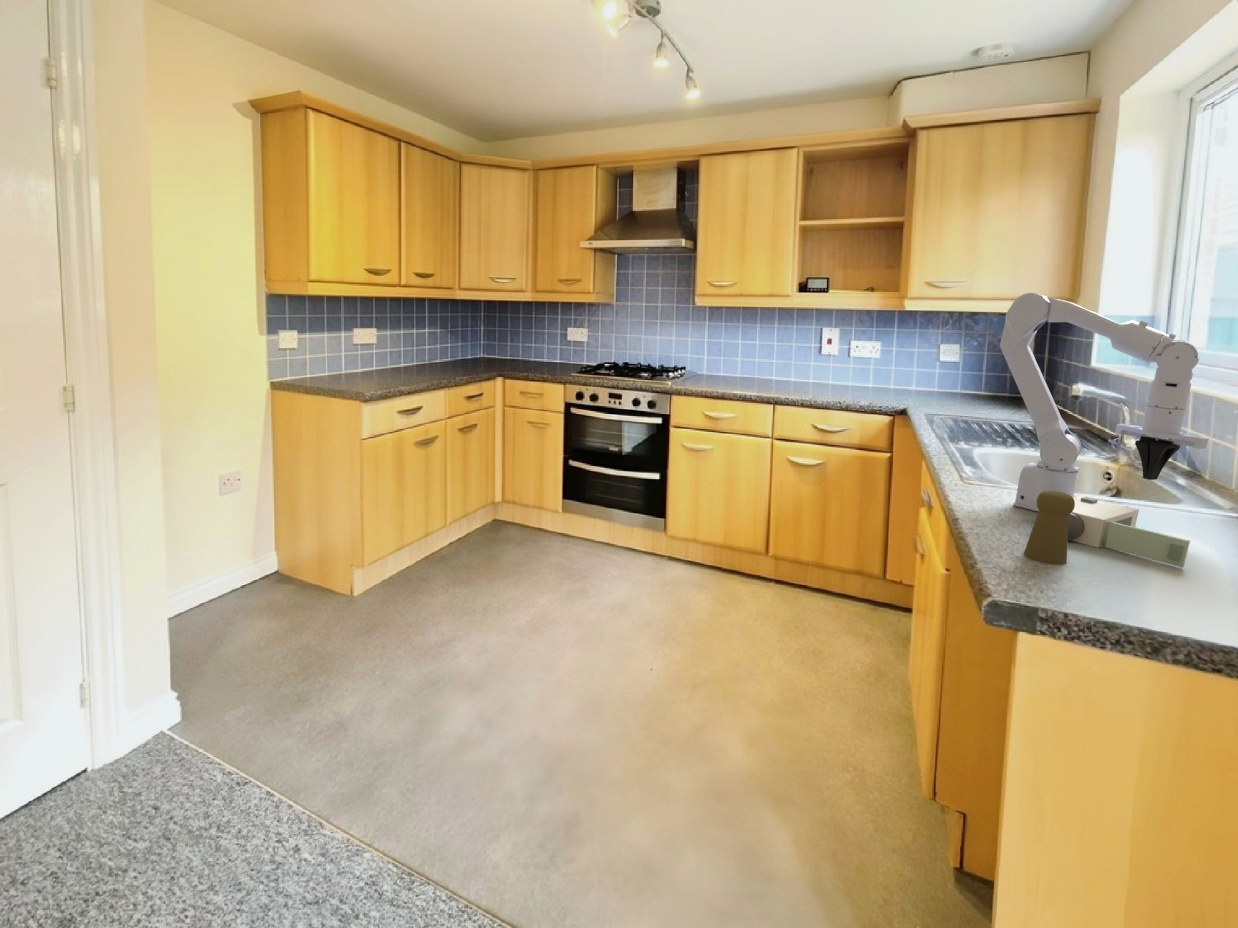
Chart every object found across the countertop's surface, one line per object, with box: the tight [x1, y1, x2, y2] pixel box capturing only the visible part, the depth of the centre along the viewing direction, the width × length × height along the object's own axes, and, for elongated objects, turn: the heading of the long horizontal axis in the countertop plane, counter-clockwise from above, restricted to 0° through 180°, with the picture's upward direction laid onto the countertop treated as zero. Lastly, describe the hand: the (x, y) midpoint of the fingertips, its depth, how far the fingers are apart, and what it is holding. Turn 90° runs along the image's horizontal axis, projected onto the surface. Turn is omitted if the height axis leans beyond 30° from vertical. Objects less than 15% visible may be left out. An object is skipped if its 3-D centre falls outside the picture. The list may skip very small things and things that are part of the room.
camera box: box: [1067, 495, 1140, 548], centre depth 126 cm, size 10×16×6 cm, turn 124°
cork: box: [1023, 491, 1075, 565], centre depth 112 cm, size 6×6×11 cm
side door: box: [1102, 521, 1191, 568], centre depth 114 cm, size 1×11×4 cm, turn 35°
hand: (1149, 478), depth 131 cm, fingers closed
